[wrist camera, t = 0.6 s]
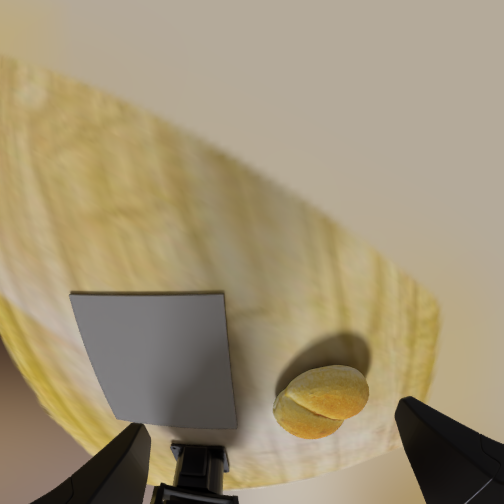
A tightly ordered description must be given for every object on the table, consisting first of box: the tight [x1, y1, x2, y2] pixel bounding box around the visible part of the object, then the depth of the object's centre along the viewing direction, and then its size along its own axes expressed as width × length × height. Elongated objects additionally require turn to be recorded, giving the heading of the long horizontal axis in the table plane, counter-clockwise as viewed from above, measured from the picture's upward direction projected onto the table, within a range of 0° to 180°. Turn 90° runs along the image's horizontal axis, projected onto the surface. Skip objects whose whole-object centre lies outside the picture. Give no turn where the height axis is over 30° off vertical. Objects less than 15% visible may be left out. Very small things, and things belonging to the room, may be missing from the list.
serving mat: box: [69, 294, 237, 429], centre depth 23 cm, size 16×14×1 cm
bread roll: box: [273, 365, 369, 439], centre depth 22 cm, size 8×9×4 cm
